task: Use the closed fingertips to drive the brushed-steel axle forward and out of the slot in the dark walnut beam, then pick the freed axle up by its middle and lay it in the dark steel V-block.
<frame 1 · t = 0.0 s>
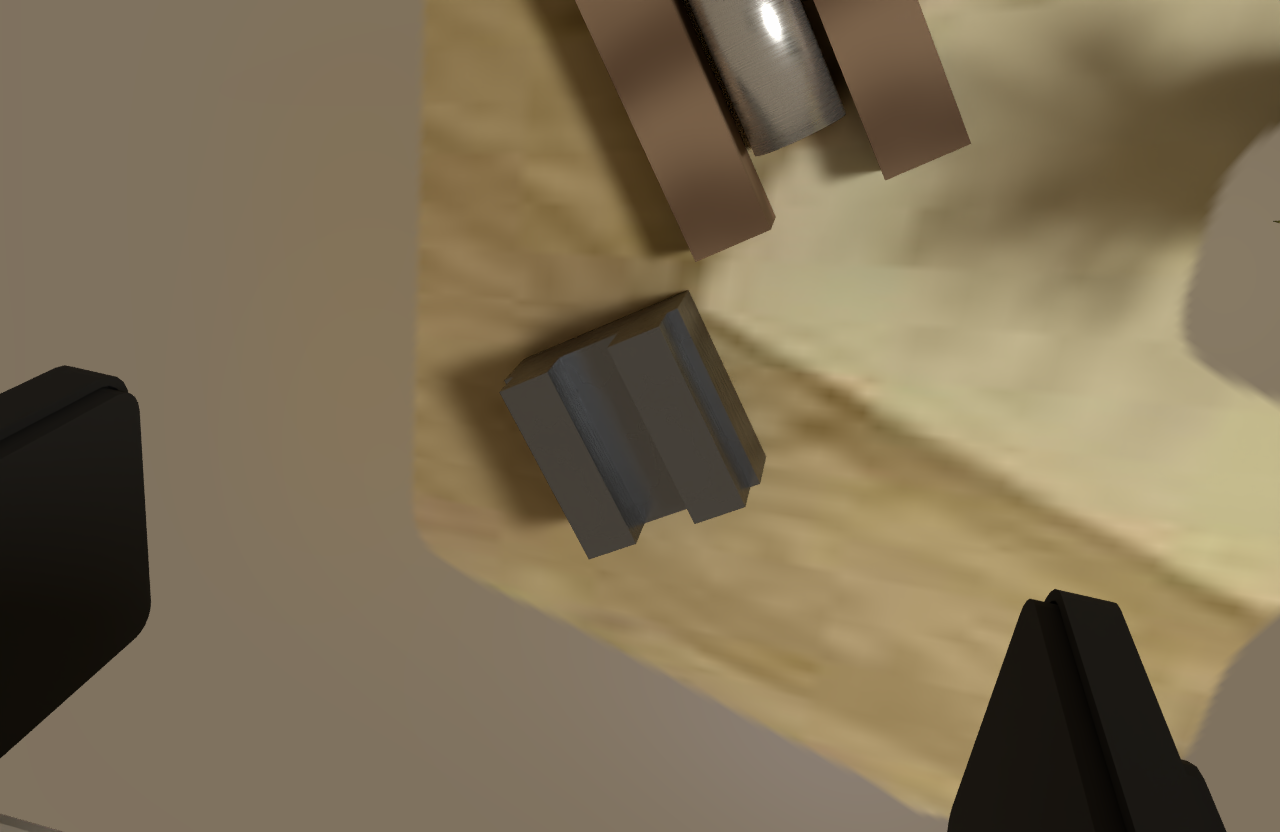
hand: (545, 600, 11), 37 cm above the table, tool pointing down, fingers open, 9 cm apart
axle: (755, 15, 43), on the table
v-block: (644, 407, 51), on the table
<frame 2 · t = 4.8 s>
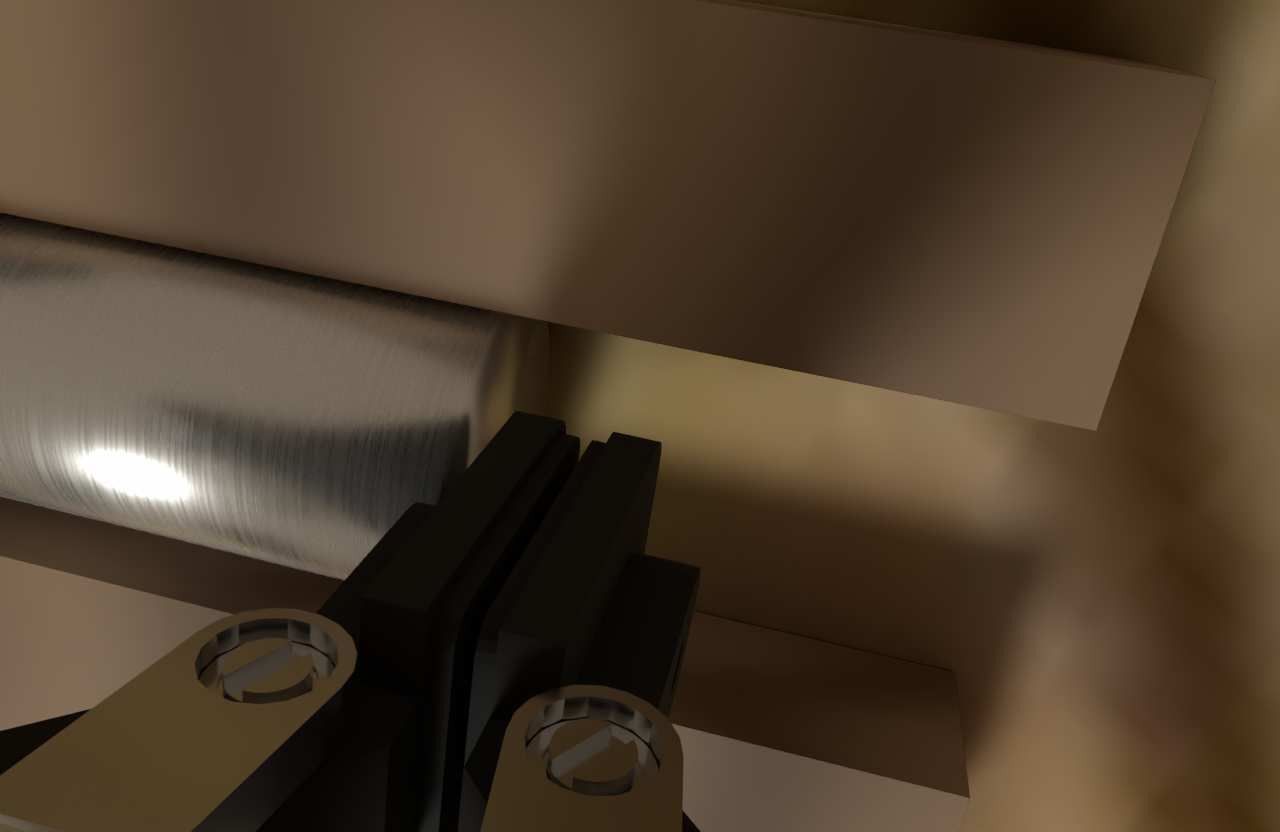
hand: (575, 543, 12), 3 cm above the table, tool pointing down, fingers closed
axle: (224, 360, 16), on the table, tilted 15°, touching gripper
slotted beam: (380, 390, 15), on the table
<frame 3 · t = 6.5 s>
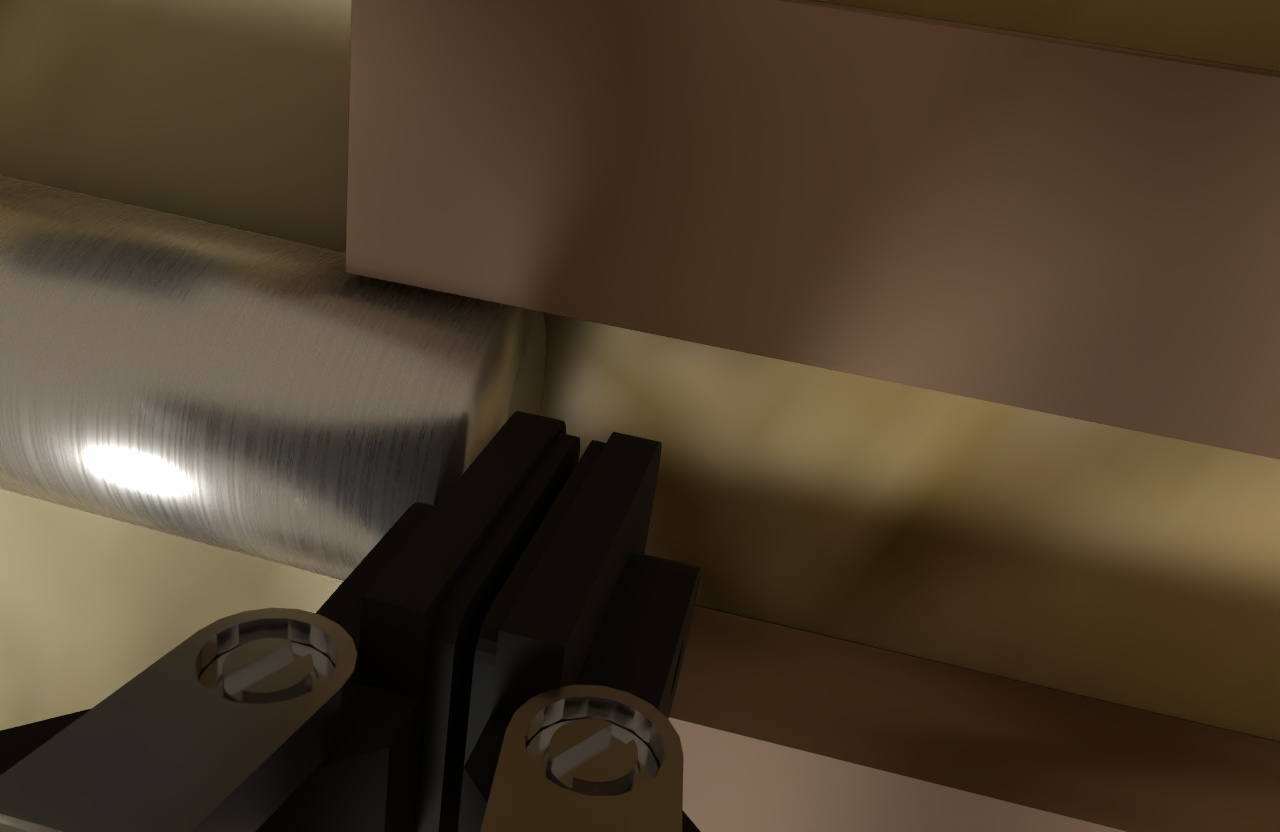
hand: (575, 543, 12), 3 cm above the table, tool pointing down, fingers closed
axle: (217, 352, 16), on the table, tilted 15°, touching gripper
slotted beam: (1056, 528, 14), on the table
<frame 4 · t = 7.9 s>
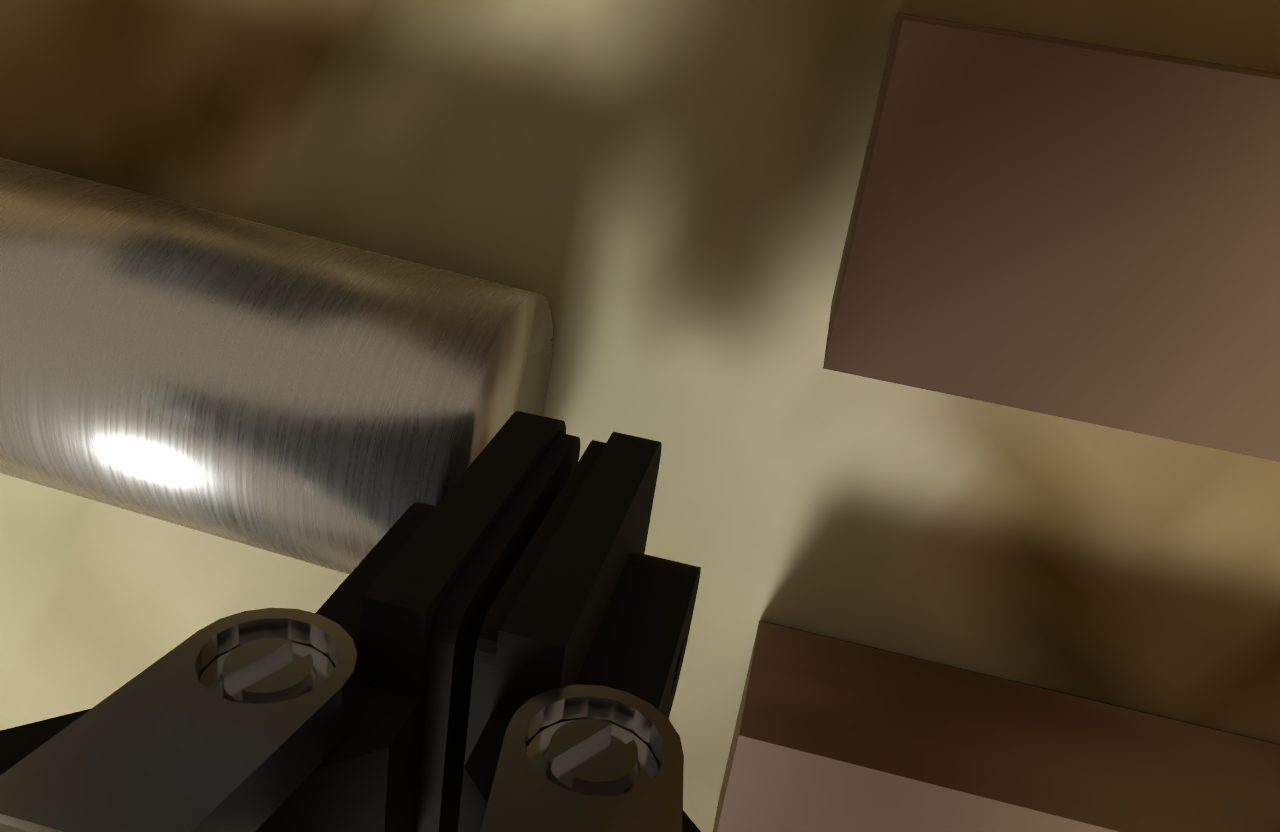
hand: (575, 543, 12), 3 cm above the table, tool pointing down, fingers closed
axle: (223, 341, 16), on the table, tilted 15°, touching gripper
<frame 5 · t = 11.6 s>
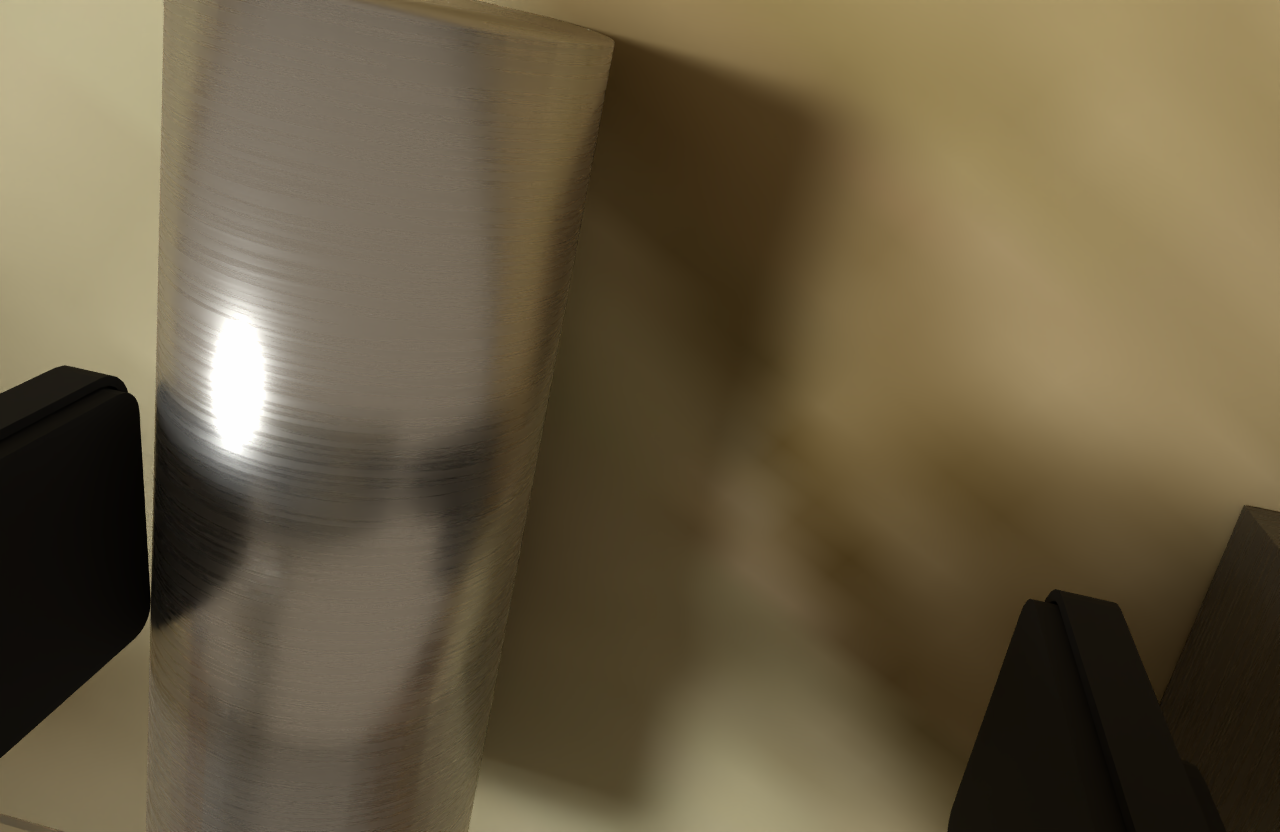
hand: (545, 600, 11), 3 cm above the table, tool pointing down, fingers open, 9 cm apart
axle: (505, 536, 11), point 2 cm above the table, tilted 103°
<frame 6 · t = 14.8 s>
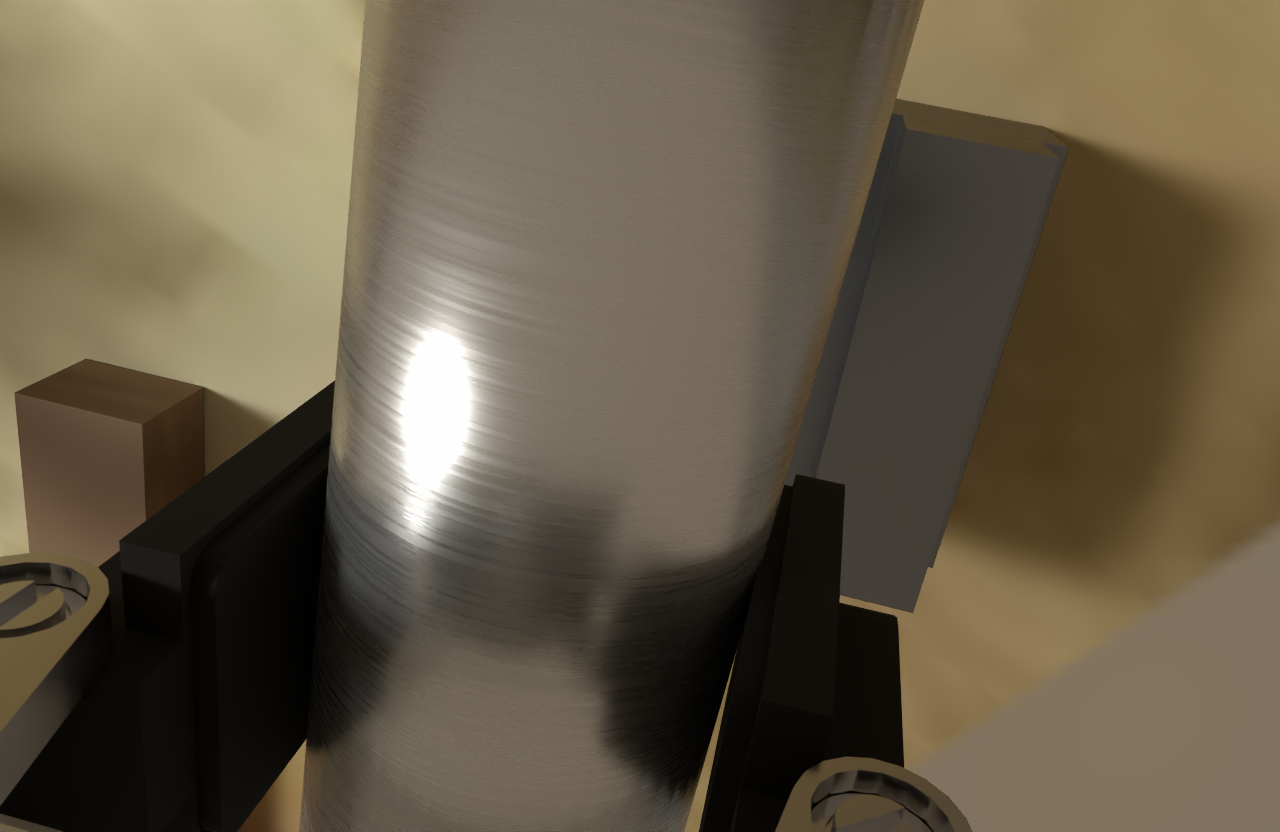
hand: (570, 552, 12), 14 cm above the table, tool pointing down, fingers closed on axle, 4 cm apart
axle: (694, 472, 11), point 13 cm above the table, tilted 35°, touching gripper
slotted beam: (282, 678, 31), on the table
v-block: (781, 288, 24), on the table
when the fingers open (6 cm above the table, at t = 17.0 s): axle drops 1 cm, resting on v-block.
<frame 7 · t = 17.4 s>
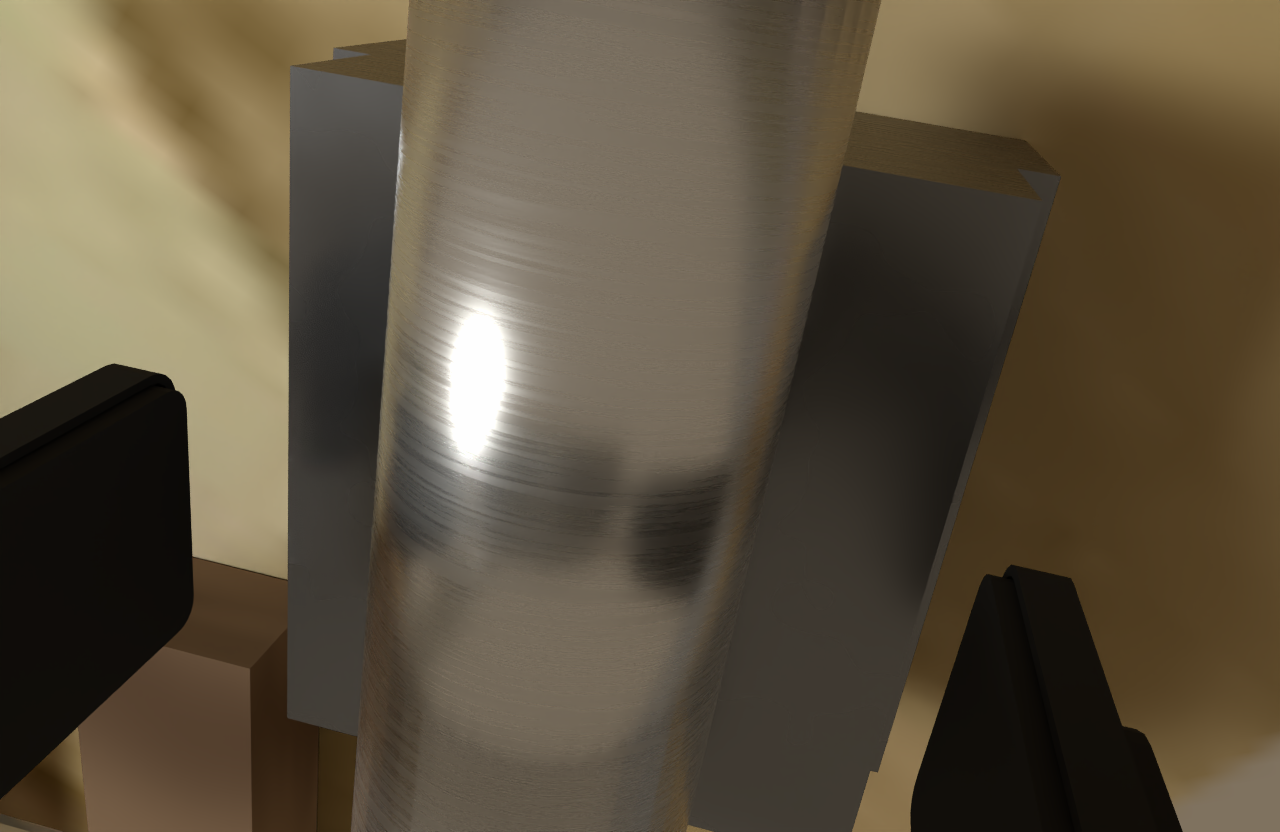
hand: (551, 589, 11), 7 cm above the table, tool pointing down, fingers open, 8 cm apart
axle: (707, 433, 12), point 5 cm above the table, tilted 37°, touching v-block
v-block: (667, 369, 17), on the table
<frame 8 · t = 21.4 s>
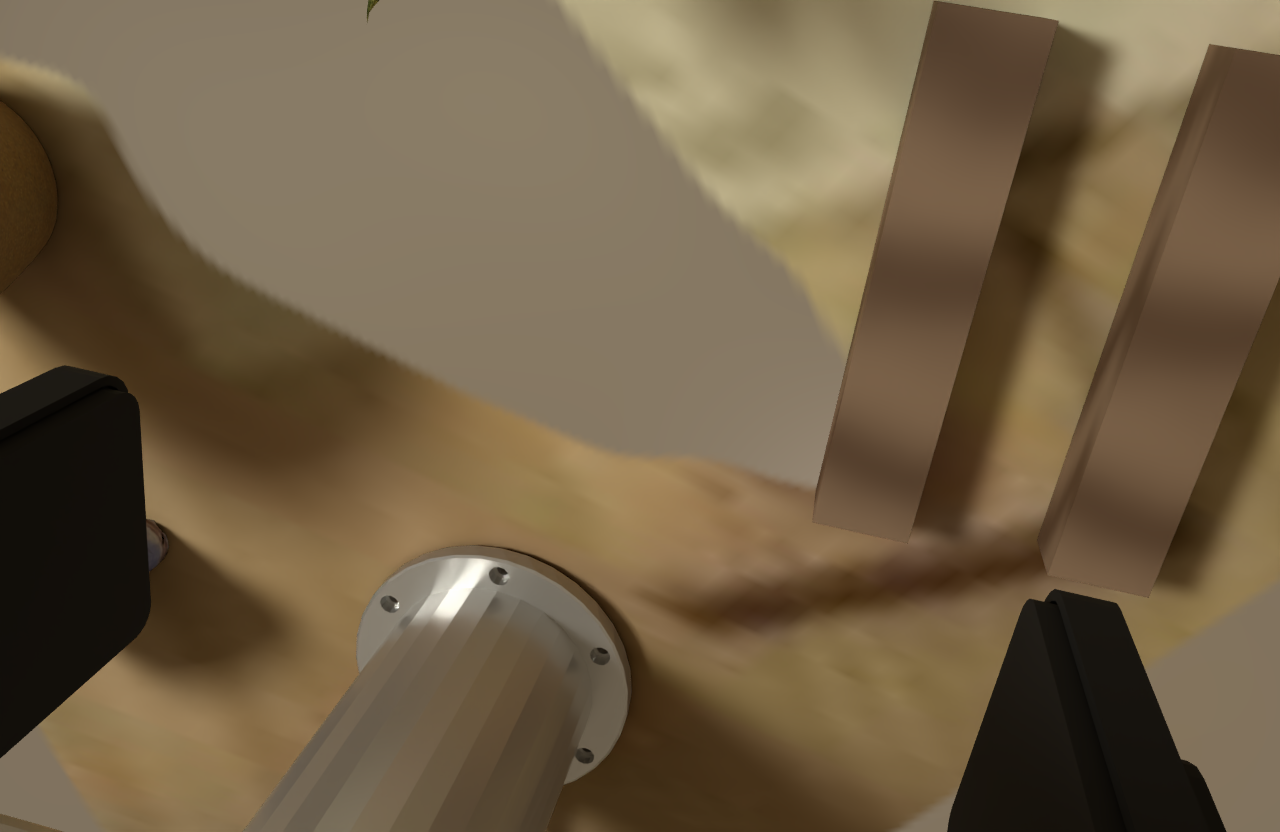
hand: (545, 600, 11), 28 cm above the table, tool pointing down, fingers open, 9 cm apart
slotted beam: (1040, 303, 36), on the table
flask: (101, 561, 50), on the table
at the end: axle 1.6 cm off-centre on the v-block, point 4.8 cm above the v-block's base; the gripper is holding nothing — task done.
